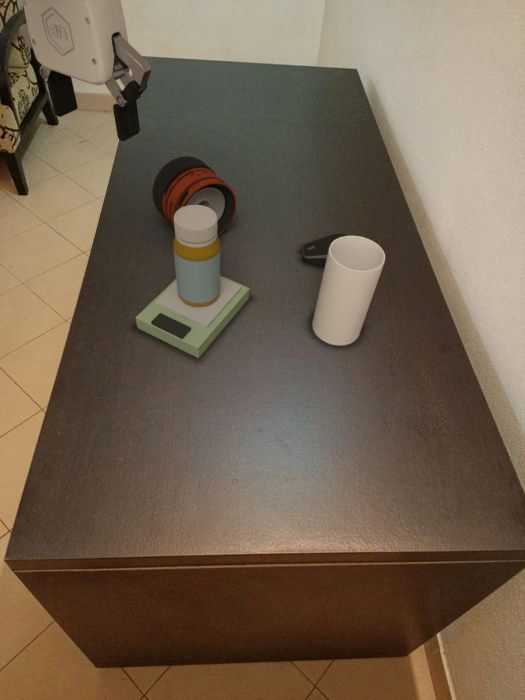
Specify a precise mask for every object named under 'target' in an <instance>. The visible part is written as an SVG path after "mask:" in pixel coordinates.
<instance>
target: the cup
mask: <svg viewBox="0 0 525 700" xmlns="http://www.w3.org/2000/svg"><path fill="white" fill-rule="evenodd" d="M385 260H386V252H385V251H384V249H383V248H382V247H381V246H380V245H379V244H378V243H377V242H375V241H374V240H372V239H369V238H368V237H363V236H359V235H349V236H343V237H340V238H337V239H336V240H334V241H333V242H332V243H331V245H330V247H329V251H328V255H327V260H326V264H325V266H324V269H323V273H322V279H321V281H320V286H319V291H318V295H317V300H316V306H315V309H314V314H313V318H312V323H311V325H312V330H313V332H314V334H315V336H316V337H317V338H318V339H319V340H321V341H322V342H324V343H327V344H329V345H333V346H348V345H350V344H353V343H354V342H355V341H357V339H359V337H360V334H361V332H362V329H363V326H364V322H365V319H366V317H367V314H368V311H369V309H370V305H371V302H372V299H373V298H374V297H373V296H374V293H375V291H376V288H377V285H378V282H379V279H380V277H381V274H382V271H383V268H384V266H385V262H386V261H385Z"/></svg>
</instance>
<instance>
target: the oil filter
mask: <svg viewBox="0 0 525 700" xmlns="http://www.w3.org/2000/svg"><path fill="white" fill-rule="evenodd" d="M151 191H152V192H151V194H152V195H151V197H152V202H153V204H154V206H155V209H156V210H157V212H158V213H159V214H161V216H162V217H163V218H164V219H165V220H166V221H167V223H169V225H172V226H173V227H174V215H175V213H176V211H177V210H179V209H180V208H182V207H185V206H188V205H202V206H206V207H208V208H210V209H212V210H213V211H214V212H215V213H216V215H217V236H218V237H219V236H221V235H222V234H223V233H224V232H225V231H226V230H227V229H228V228H229V226H230V225H231V223H232V221H233V220H234V217H235V214H236V211H237V197H236V194H235V191H234V190H233V188H232V187H231V186H230V185H228V183H226V182H225V181H224V180H223V179H222V178H221V177H220V176H218V174H217V173H216V172H215V171H214V170H213V169H212V168H211V167H210V166H208V165H207V164H206V163H205V162H204V161H203V160H201V159H199V158H197V157H194V156H184V155H183V156H179V157H176V158H174V159H171V160H170V161H168V162H167V163H165V164H164V165H163V166H162V167H161V168H160V170H159V171H158V173H157V174H156V176H155V178H154V180H153V184H152V190H151Z"/></svg>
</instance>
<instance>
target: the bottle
mask: <svg viewBox="0 0 525 700" xmlns="http://www.w3.org/2000/svg"><path fill="white" fill-rule="evenodd" d="M173 227H174V235H175V236H174V239H173V243H172V247H173V257H174V269H175V279H176V281H177V290H178V295H179V297H180V298H181V300H182V301H184V302H185V303H187V304H189V305H192V306H206V305H208V304H211V303H212V302H214V301H215V300H216V299H217V298H218V296H219V294H220V276H221V242H220V239H219V236H217V215H216V213H215V212H214V211H213V210H212V209H210V208H208V207H206V206H202V205H188V206H185V207H182V208H180V209H179V210H177V211H176V213H175V215H174V226H173Z"/></svg>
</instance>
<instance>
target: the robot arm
mask: <svg viewBox="0 0 525 700" xmlns="http://www.w3.org/2000/svg"><path fill="white" fill-rule="evenodd" d="M22 5H23V11H24V16H25V21H26V22H25V23H24V24H22V25H21V26H19V33H20V34H21V37H22V38H23V41H24V42H25V44H26V46H27V47H28V49H29V54H30V56H31V58H32V59H33V60H34V62H35V63H36V64H37V66H38V67H39V74H40V76H41V77H42V78H43V79H44V80H46V81H45V82H46V85H47V90H48V93H49V98H50V102H51V104H52V110H53V112H54V115H55V116H57V117H59V118H62V117H64V116H66V115H68V114H70V113H72V112H75V111H76V110H78V103H77V97H76V92H75V88H74V84H73V83H74V82H73V80H72V78H73V79H76V80H79V81H81V82H84V83H88V84H91V85H94V86H102V85H105V87H106V88H107V90H108V91H109V93H110V94H111V96H112V97H113V99H114V100H115V102H116V103H114V104H112V111H113V115H114V123H115V124H114V125H115V130H116V136H117V139H118V140H119V141H121V142H126V141H128V140H130V139H131V138H134V136H137V135H138V134H140V132H141V126H140V118H139V112H138V102H137V101H138V100H139V99H141V97H142V95H143V93H144V92H145V91H146V89H148V84H147V83H148V81H149V79H150V75H151V72H152V66H151V64H150V62H149V61H148V60H147V59H146V58H145V57H144V56H142V54H141V53H139V52H138V51H137V50H136V48H134V47H133V46H132V45H131V43H129V38H128V37H129V36H128V31H127V26H126V20H125V14H124V11H123V5H122V1H121V0H22ZM130 71H131V74H130ZM117 80H120V82H121V84H122V85H123V87H124V88H123V89H122V87H121V86H120V85H119V83H118V81H117Z"/></svg>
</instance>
